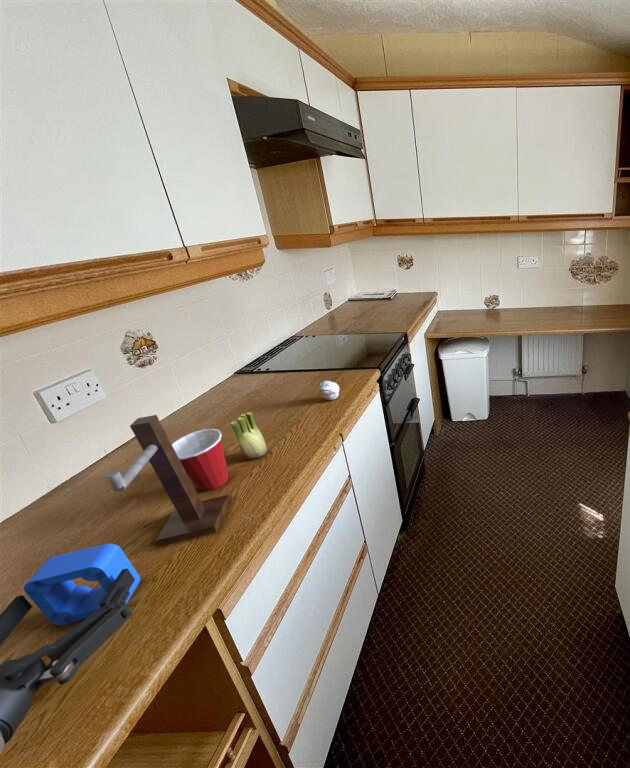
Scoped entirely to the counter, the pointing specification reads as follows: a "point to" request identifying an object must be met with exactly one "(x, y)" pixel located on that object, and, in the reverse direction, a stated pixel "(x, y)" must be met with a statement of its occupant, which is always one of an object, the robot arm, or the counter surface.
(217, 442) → the plastic cup
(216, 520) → the hook stand
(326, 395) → the white lumpy ball
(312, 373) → the counter surface
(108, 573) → the blue rounded square frame
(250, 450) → the fennel bulb
